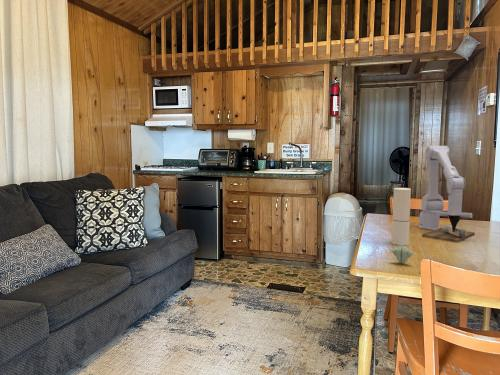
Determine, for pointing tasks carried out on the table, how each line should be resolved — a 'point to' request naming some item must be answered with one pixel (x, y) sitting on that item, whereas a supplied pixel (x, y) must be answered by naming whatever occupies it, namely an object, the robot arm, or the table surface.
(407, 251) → the green fan shape
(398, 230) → the cream tall block
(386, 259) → the table surface
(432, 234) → the base
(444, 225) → the coupling lever
